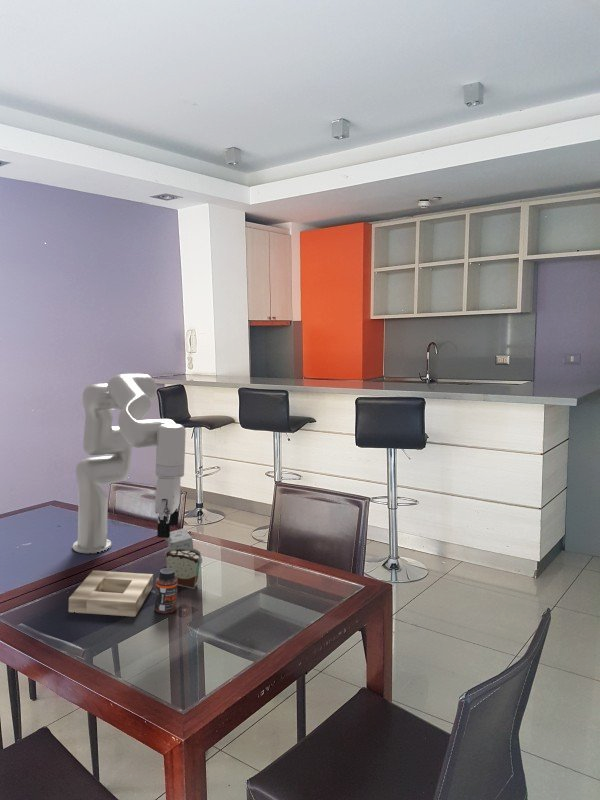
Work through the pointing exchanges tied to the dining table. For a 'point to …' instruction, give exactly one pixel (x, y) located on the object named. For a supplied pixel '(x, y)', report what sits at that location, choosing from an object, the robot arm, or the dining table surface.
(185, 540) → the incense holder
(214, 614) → the dining table surface
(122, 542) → the dining table surface
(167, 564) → the food container
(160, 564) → the dining table surface
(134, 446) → the robot arm
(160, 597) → the supplement bottle
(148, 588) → the socket board
